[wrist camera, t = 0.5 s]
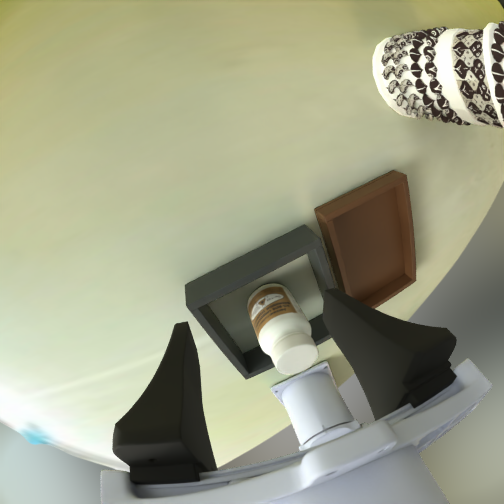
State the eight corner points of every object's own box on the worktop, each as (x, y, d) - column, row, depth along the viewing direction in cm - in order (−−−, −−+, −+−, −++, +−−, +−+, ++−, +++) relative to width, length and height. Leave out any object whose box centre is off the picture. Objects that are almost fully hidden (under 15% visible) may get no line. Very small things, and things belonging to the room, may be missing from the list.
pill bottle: (272, 273, 25) (305, 330, 18) (299, 298, 27) (334, 353, 20) (236, 304, 25) (257, 367, 18) (265, 326, 27) (290, 385, 20)
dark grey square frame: (333, 312, 29) (346, 329, 26) (240, 359, 29) (246, 380, 26) (304, 224, 23) (320, 237, 21) (184, 284, 23) (185, 305, 20)
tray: (406, 273, 29) (416, 281, 28) (344, 312, 29) (352, 322, 28) (393, 169, 23) (406, 174, 21) (313, 209, 23) (324, 216, 21)
